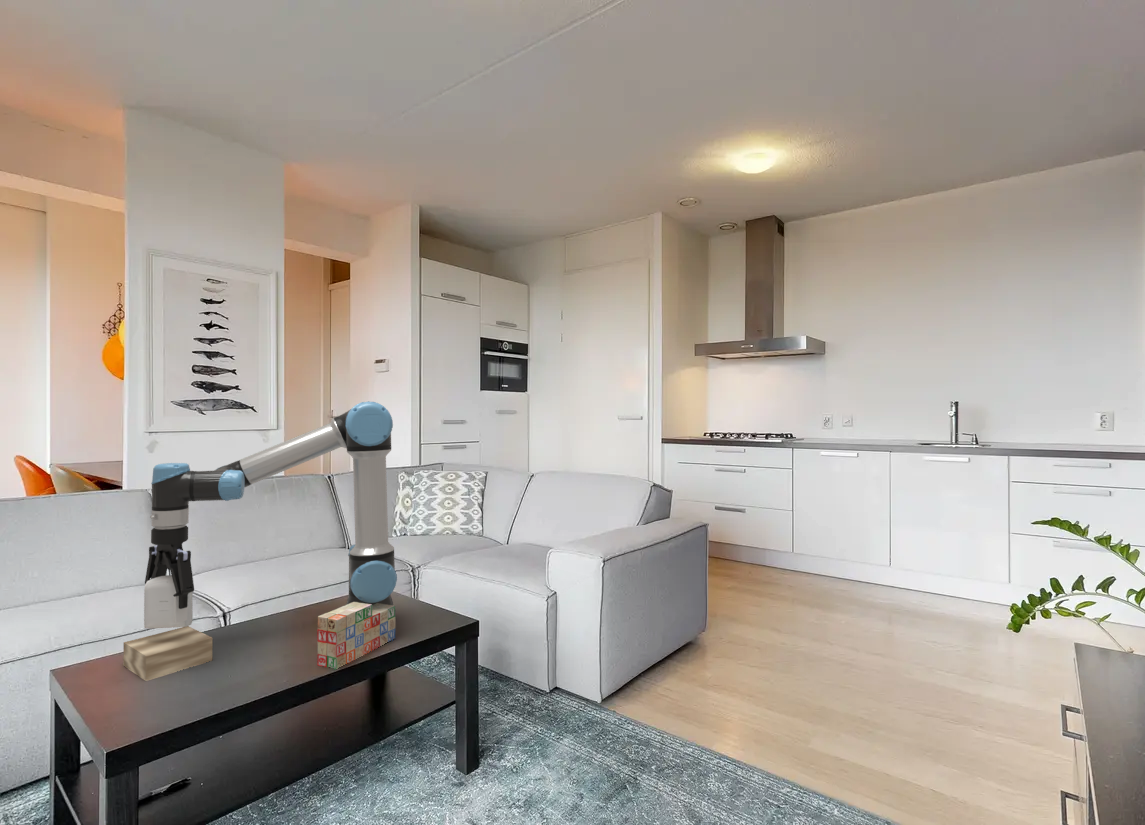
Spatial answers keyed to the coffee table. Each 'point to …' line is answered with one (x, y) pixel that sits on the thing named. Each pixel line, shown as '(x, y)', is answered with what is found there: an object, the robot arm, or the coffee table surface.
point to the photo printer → (163, 604)
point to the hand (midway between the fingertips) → (168, 617)
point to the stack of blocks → (353, 632)
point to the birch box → (167, 652)
